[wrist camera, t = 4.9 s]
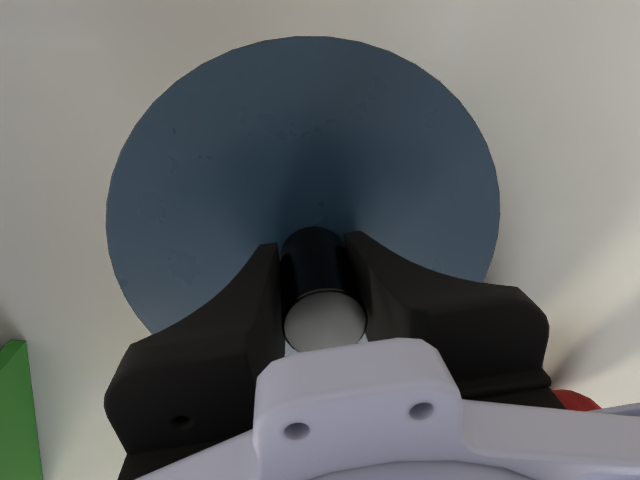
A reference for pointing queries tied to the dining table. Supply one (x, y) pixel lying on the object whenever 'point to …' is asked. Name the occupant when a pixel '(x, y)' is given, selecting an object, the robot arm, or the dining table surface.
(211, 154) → the pot lid
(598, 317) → the dining table surface
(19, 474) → the hardback book
